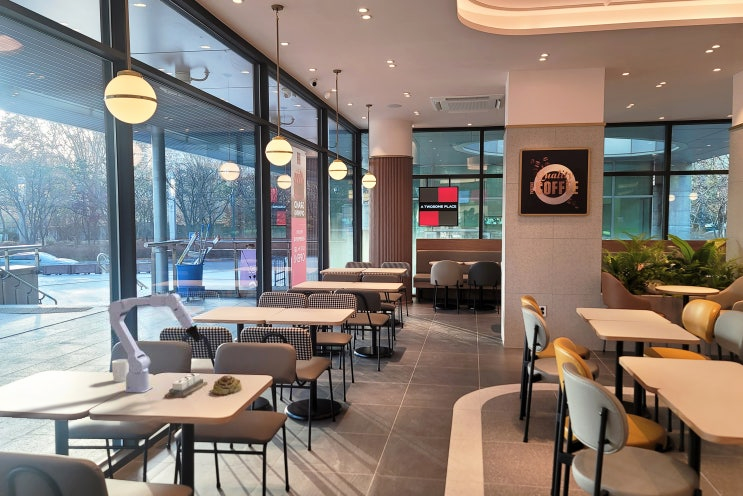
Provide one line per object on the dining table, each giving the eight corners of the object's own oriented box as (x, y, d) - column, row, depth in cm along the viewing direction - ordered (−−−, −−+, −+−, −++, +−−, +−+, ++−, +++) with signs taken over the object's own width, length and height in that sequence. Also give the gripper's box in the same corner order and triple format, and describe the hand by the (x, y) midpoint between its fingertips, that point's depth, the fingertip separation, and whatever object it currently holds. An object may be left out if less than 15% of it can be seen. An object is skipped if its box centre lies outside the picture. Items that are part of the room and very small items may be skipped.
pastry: (211, 396, 240) (210, 379, 240) (213, 387, 254) (213, 370, 254) (241, 394, 243) (241, 377, 242) (242, 385, 257) (241, 369, 257)
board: (164, 396, 240) (164, 390, 240) (188, 383, 261) (188, 377, 261) (185, 397, 238) (184, 391, 238) (207, 384, 259) (207, 378, 259)
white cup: (125, 382, 263) (124, 362, 263) (109, 382, 264) (108, 362, 263) (132, 378, 271) (131, 358, 271) (117, 378, 271) (116, 359, 271)
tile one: (172, 389, 242) (172, 382, 241) (178, 386, 246) (177, 379, 246) (182, 390, 241) (181, 382, 241) (187, 387, 245) (187, 380, 245)
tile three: (186, 382, 253) (186, 375, 253) (191, 379, 258) (190, 372, 258) (195, 382, 253) (195, 375, 252) (199, 380, 257) (199, 373, 257)
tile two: (179, 386, 247) (179, 378, 247) (184, 383, 252) (184, 376, 252) (188, 386, 247) (188, 379, 247) (193, 383, 251) (193, 376, 251)
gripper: (191, 310, 243) (206, 335, 243) (190, 313, 257) (205, 336, 257) (176, 318, 240) (192, 344, 241) (177, 321, 254) (192, 344, 254)
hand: (198, 340), depth 248 cm, fingers open, 7 cm apart
